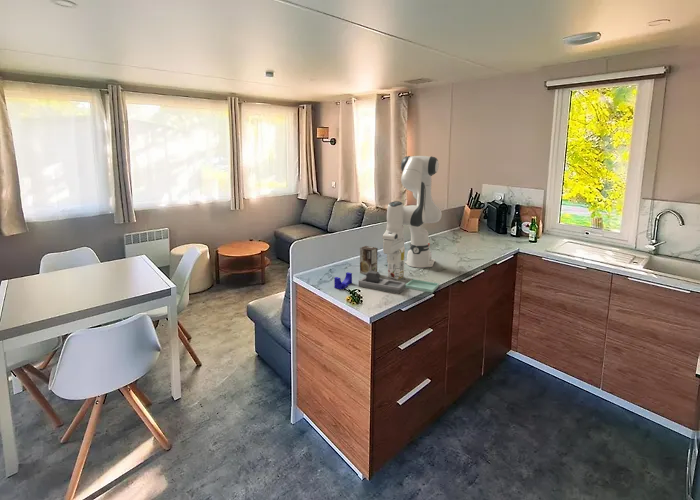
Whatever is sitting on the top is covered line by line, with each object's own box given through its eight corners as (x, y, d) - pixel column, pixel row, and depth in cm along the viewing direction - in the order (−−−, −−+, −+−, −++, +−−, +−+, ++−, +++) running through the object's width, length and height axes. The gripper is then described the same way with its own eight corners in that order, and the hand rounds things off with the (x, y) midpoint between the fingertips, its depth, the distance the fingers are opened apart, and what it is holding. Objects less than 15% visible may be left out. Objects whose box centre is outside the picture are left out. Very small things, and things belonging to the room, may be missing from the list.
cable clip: (340, 289, 208) (340, 279, 207) (334, 288, 211) (334, 277, 209) (354, 283, 218) (354, 273, 216) (347, 282, 220) (347, 272, 219)
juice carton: (397, 280, 222) (398, 248, 218) (386, 277, 228) (386, 246, 223) (405, 277, 228) (406, 246, 223) (393, 274, 233) (394, 243, 229)
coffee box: (377, 273, 235) (378, 247, 231) (371, 276, 230) (371, 249, 226) (365, 270, 241) (366, 245, 237) (359, 273, 236) (359, 247, 232)
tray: (412, 281, 221) (412, 279, 220) (438, 286, 213) (439, 283, 213) (404, 287, 211) (404, 285, 211) (432, 292, 204) (432, 290, 203)
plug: (390, 260, 208) (390, 250, 206) (400, 261, 205) (401, 251, 203) (387, 262, 204) (387, 251, 202) (397, 264, 201) (397, 253, 200)
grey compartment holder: (366, 281, 221) (366, 268, 219) (405, 288, 210) (406, 274, 208) (358, 286, 213) (358, 272, 211) (398, 293, 202) (399, 279, 200)
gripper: (396, 229, 211) (396, 253, 214) (381, 236, 194) (380, 262, 197) (407, 230, 208) (406, 255, 211) (392, 237, 191) (391, 264, 194)
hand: (393, 258), depth 204 cm, fingers closed on plug, 4 cm apart
